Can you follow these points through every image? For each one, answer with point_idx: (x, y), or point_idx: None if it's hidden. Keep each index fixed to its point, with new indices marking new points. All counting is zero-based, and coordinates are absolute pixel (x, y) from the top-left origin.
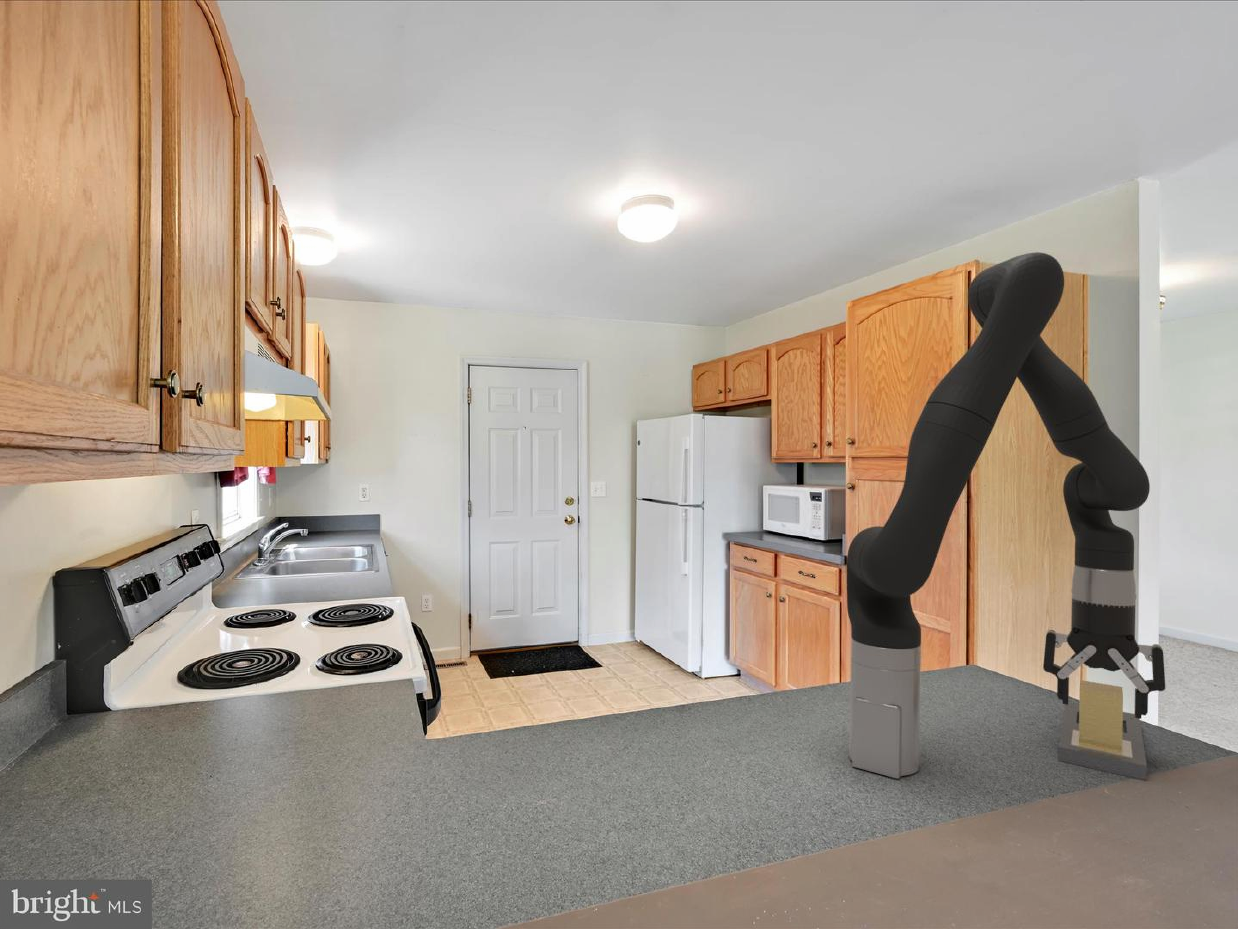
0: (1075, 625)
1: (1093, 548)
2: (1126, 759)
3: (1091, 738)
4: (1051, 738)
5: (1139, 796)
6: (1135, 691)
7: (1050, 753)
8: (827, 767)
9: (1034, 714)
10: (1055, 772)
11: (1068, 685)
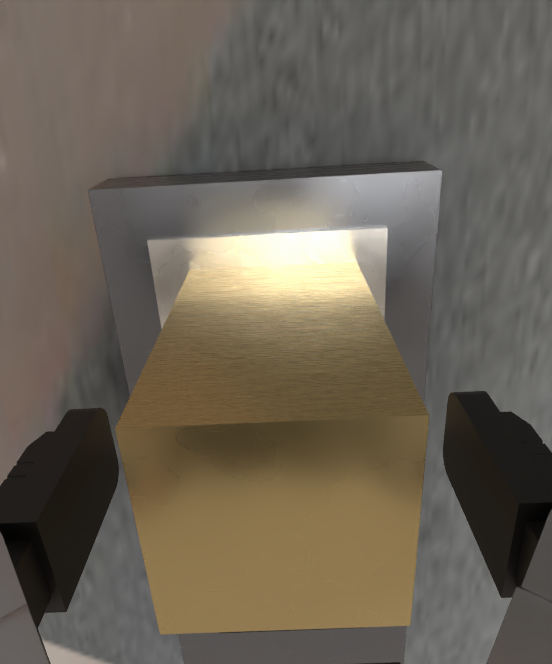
0: None
1: None
2: (167, 214)
3: (309, 278)
4: (438, 416)
5: None
6: (44, 545)
7: (447, 249)
8: None
9: (483, 597)
10: (434, 8)
11: (496, 488)
